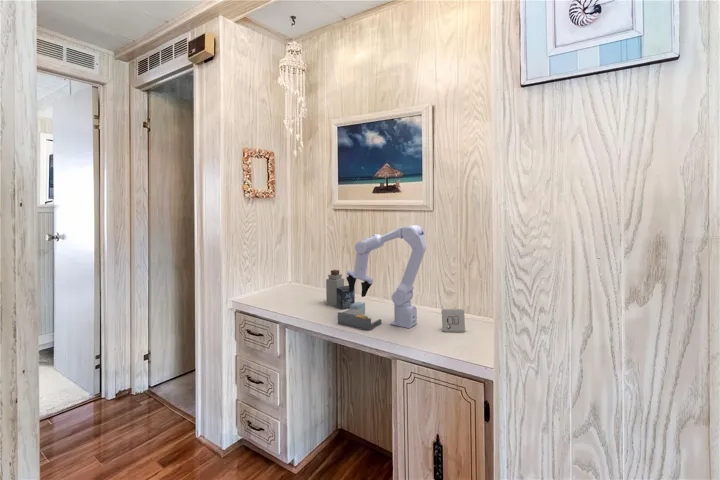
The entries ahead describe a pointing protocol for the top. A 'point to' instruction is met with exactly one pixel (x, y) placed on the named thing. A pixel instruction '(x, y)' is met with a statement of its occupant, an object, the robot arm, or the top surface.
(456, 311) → the electrical switch
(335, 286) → the perfume bottle
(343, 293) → the box
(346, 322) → the rack bay
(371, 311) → the top surface
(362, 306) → the pale blue tall block
